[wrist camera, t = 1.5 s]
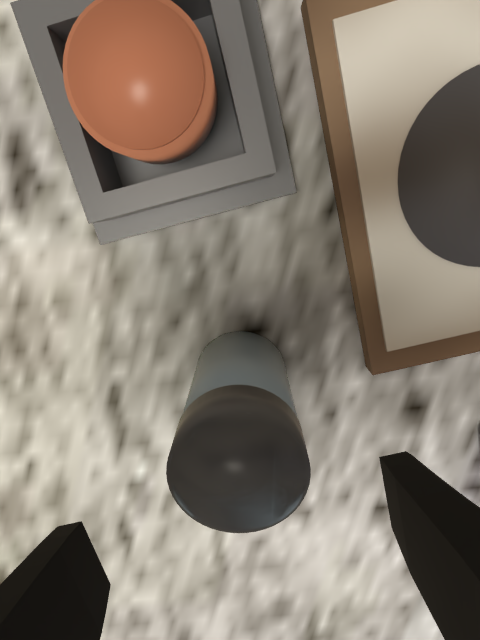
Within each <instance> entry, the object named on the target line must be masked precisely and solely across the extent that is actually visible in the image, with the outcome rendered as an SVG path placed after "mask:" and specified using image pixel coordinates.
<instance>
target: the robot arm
mask: <svg viewBox="0 0 480 640" xmlns="http://www.w3.org/2000/svg"><path fill="white" fill-rule="evenodd" d="M379 458H380V464H381V469H382V475H383V481H384V486H385V492H386V497H387V503H388V509H389V514H390V520H391V526H392V529H393V532H394V534H395V537H396V539H397V542H398V544H399V547H400V549H401V552H402V554H403V557H404V559H405V561H406V564H407V566H408V569H409V571H410V574H411V576H412V578H413V579H414V581H415V583H416V585H417V587H418V589H419V591H420V593H421V595H422V597H423V599H424V601H425V603H426V605H427V606H428V608H429V610H430V612H431V614H432V616H433V618H434V620H435V622H436V624H437V626H438V628H439V629H440V631H441V633H442V635H443V637H444V639H445V640H480V507H478V506H477V505H475V504H474V503H473V502H471V501H470V500H468V499H467V498H466V497H464V496H463V495H462V494H460V493H459V492H458V491H456V490H455V489H454V488H453V487H451V486H450V485H449V484H447V483H446V482H445V481H443V480H442V479H441V478H440V477H438V476H437V475H436V474H435V473H433V472H432V471H431V470H430V469H428V468H427V467H426V466H425V465H423V464H422V463H421V462H420V461H418V460H417V459H416V458H415V457H414V456H412V455H411V454H409V453H408V452H401V453H396V454H392V455H387V456H382V457H379ZM109 591H110V582H109V580H108V578H107V576H106V574H105V571H104V569H103V567H102V565H101V563H100V561H99V558H98V556H97V554H96V552H95V550H94V547H93V545H92V543H91V541H90V539H89V537H88V534H87V532H86V530H85V528H84V526H83V523H82V521H81V522H76V523H72V524H67V525H63V526H58V527H57V528H56V529H55V530H54V531H52V532H51V533H50V534H49V535H48V536H47V537H46V538H45V539H44V540H43V541H42V542H41V543H40V544H39V545H38V546H37V547H36V548H35V549H34V550H33V551H32V552H31V553H30V554H29V555H28V556H27V557H26V559H25V560H24V561H23V562H22V563H21V564H20V565H19V566H18V567H17V568H16V569H15V570H14V571H13V572H12V573H11V574H10V575H9V576H8V577H7V578H6V579H5V580H4V581H3V583H2V584H1V585H0V640H100V637H101V633H102V628H103V623H104V618H105V614H106V608H107V602H108V597H109Z"/></svg>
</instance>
